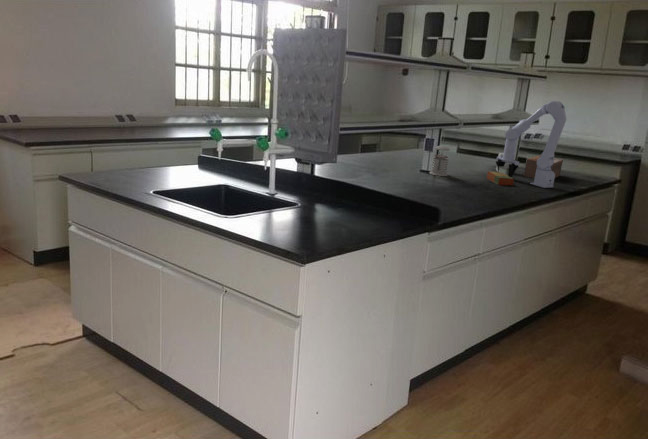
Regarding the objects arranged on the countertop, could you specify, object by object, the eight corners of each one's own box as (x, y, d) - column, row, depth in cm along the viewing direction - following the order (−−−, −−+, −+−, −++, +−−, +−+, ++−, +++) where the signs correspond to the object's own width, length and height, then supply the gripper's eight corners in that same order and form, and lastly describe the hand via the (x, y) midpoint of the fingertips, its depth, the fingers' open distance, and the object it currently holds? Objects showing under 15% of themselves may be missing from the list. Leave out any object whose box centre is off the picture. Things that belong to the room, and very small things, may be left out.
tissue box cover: (549, 181, 323) (553, 163, 320) (523, 176, 330) (527, 159, 327) (559, 176, 344) (563, 159, 341) (534, 171, 351) (538, 155, 348)
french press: (448, 173, 312) (455, 127, 305) (446, 177, 301) (454, 129, 295) (430, 171, 314) (437, 125, 308) (427, 174, 304) (435, 127, 297)
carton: (500, 180, 312) (502, 172, 311) (513, 186, 297) (514, 178, 295) (486, 178, 311) (487, 170, 310) (497, 185, 296) (499, 177, 294)
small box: (509, 171, 340) (512, 154, 337) (511, 173, 334) (514, 155, 332) (495, 170, 340) (498, 152, 337) (497, 171, 335) (500, 153, 332)
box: (511, 179, 315) (513, 168, 314) (504, 179, 313) (506, 168, 311) (504, 177, 320) (506, 166, 318) (497, 177, 317) (499, 166, 315)
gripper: (524, 153, 308) (520, 178, 312) (504, 148, 320) (500, 172, 324) (515, 153, 305) (510, 178, 308) (495, 148, 317) (491, 172, 320)
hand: (504, 175), depth 316 cm, fingers open, 7 cm apart
